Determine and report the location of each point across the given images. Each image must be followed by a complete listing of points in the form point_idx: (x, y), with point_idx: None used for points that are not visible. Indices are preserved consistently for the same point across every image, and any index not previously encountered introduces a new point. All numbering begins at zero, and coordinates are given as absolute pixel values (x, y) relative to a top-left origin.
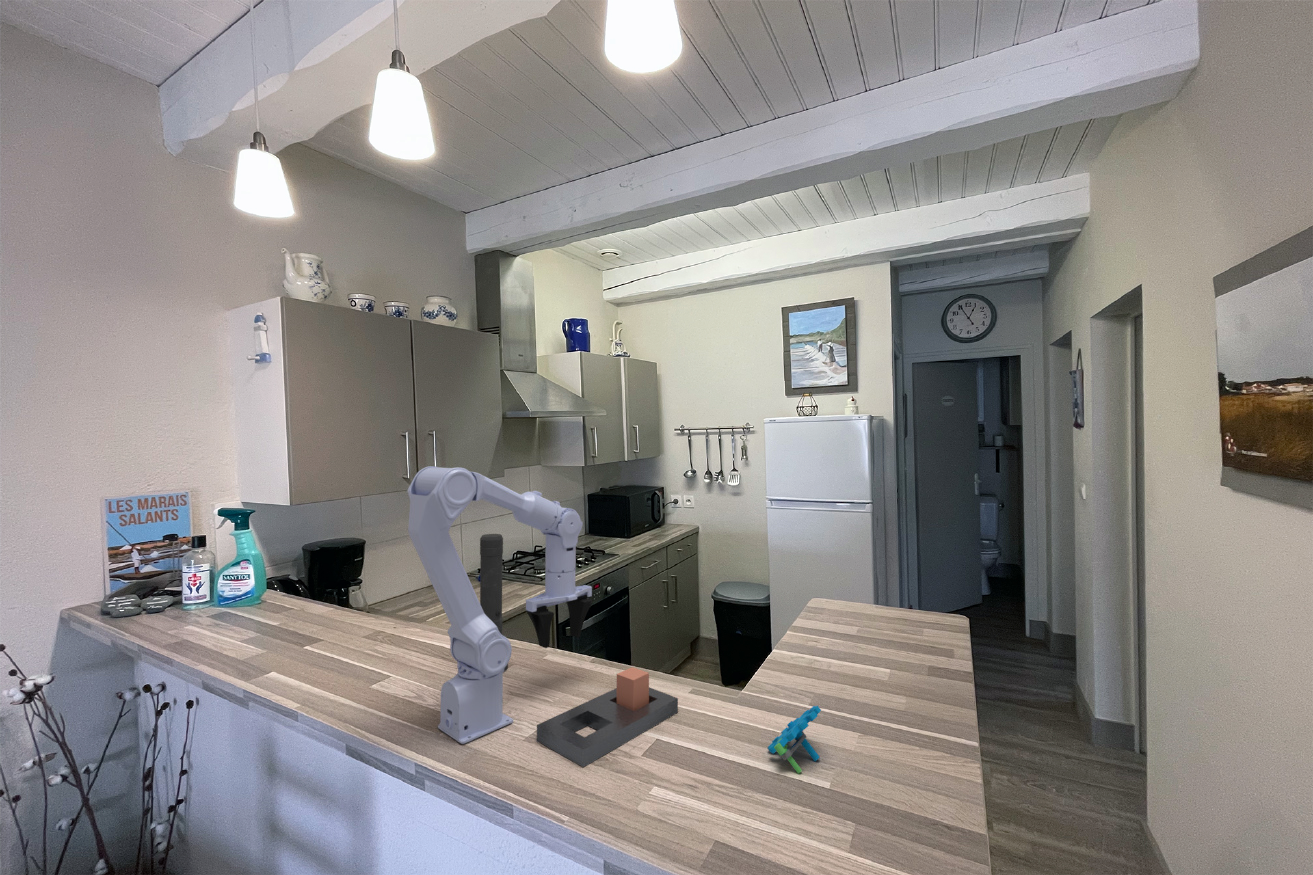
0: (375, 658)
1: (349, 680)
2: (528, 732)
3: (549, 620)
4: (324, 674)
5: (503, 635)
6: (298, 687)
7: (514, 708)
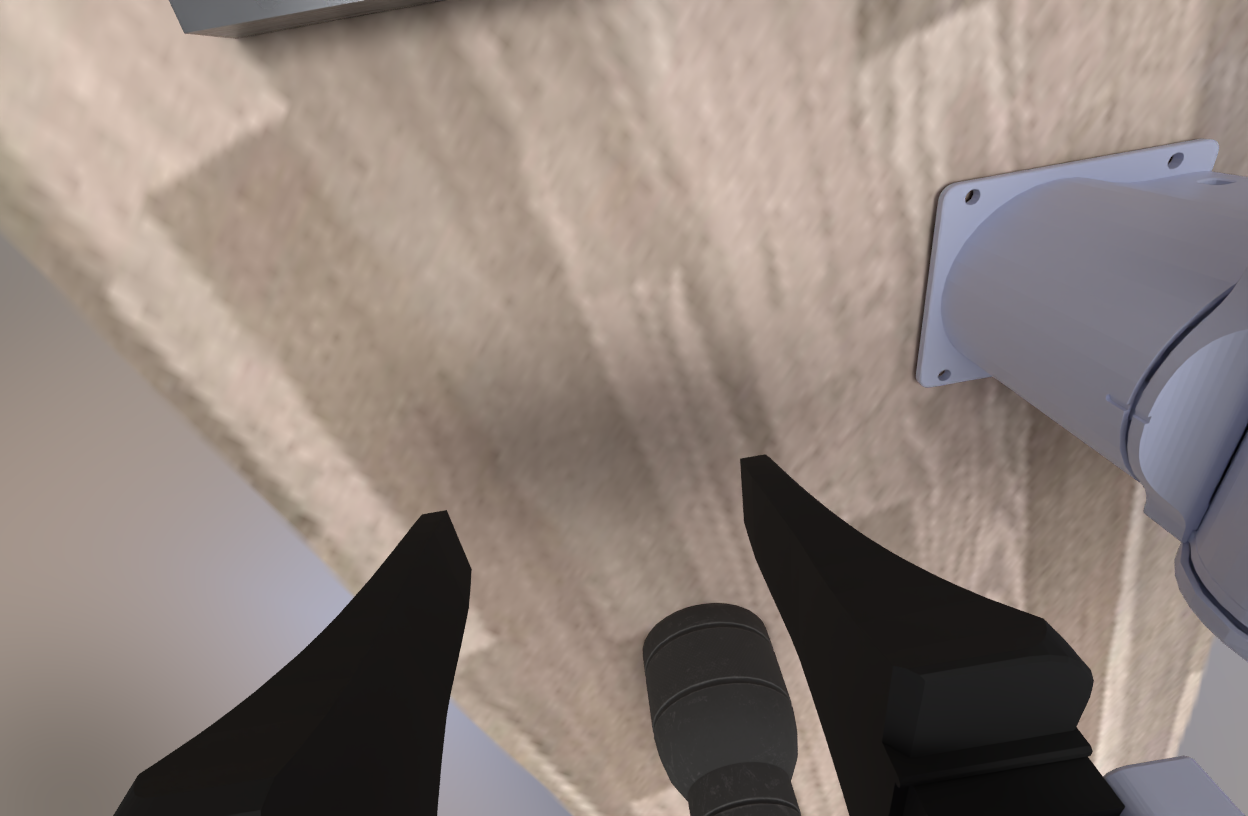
0: None
1: None
2: (961, 35)
3: (883, 603)
4: None
5: (692, 765)
6: (1119, 749)
7: (842, 316)
